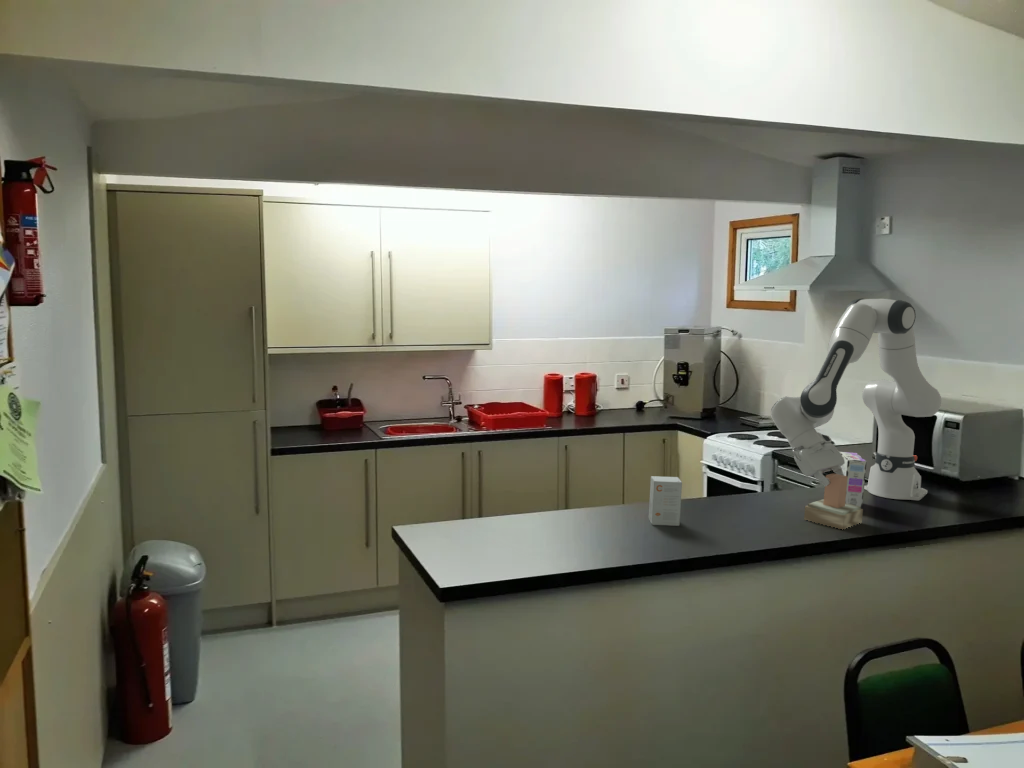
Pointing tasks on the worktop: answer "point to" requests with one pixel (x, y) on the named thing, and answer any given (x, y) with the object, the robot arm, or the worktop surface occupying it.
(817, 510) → the birch plinth
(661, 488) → the small box
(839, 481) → the terracotta block
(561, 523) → the worktop surface
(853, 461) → the candy box
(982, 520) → the worktop surface
